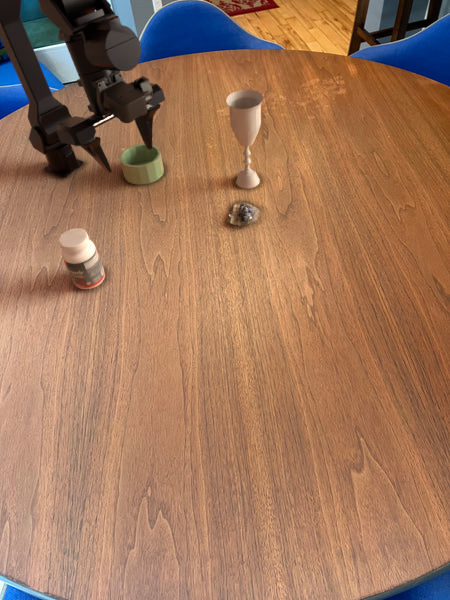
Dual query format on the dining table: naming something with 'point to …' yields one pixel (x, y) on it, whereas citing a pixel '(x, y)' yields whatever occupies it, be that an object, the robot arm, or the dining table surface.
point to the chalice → (245, 129)
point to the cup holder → (141, 164)
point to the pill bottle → (81, 259)
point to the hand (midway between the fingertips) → (130, 160)
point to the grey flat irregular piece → (244, 214)
